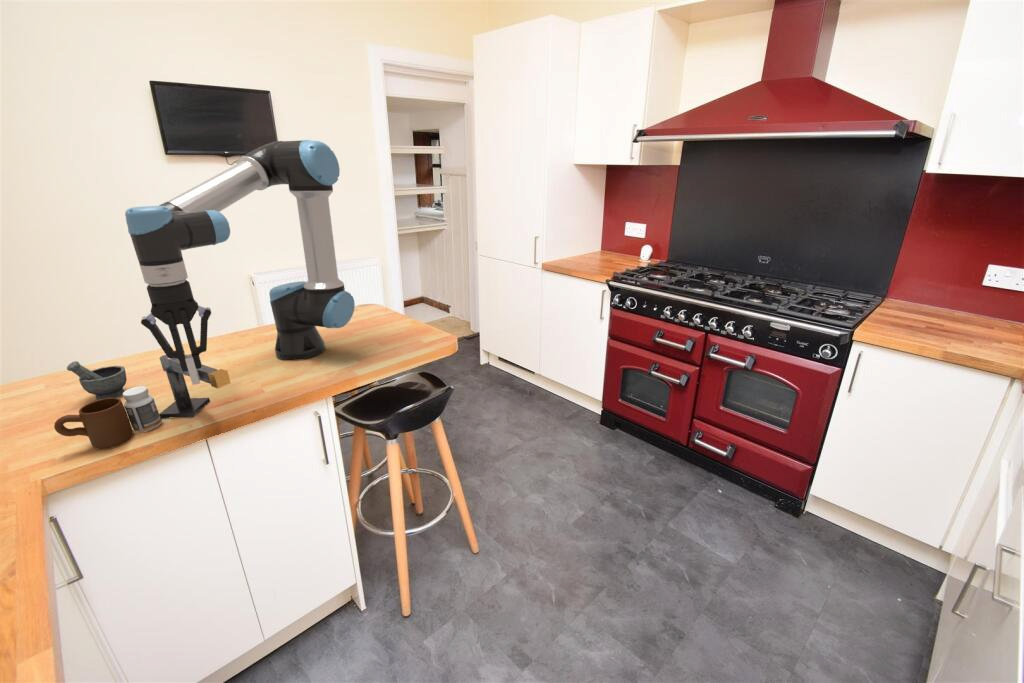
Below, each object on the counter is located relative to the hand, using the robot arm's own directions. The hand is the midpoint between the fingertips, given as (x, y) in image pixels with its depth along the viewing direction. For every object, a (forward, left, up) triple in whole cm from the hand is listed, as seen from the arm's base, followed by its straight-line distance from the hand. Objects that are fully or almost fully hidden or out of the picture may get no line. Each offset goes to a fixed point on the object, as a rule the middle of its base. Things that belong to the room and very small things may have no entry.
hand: (196, 381), depth 107 cm
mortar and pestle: (+37, -19, -13) cm, 44 cm away
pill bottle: (+16, -2, -13) cm, 20 cm away
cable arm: (+3, -5, -1) cm, 6 cm away
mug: (+21, +5, -13) cm, 25 cm away
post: (+11, -10, -13) cm, 19 cm away
